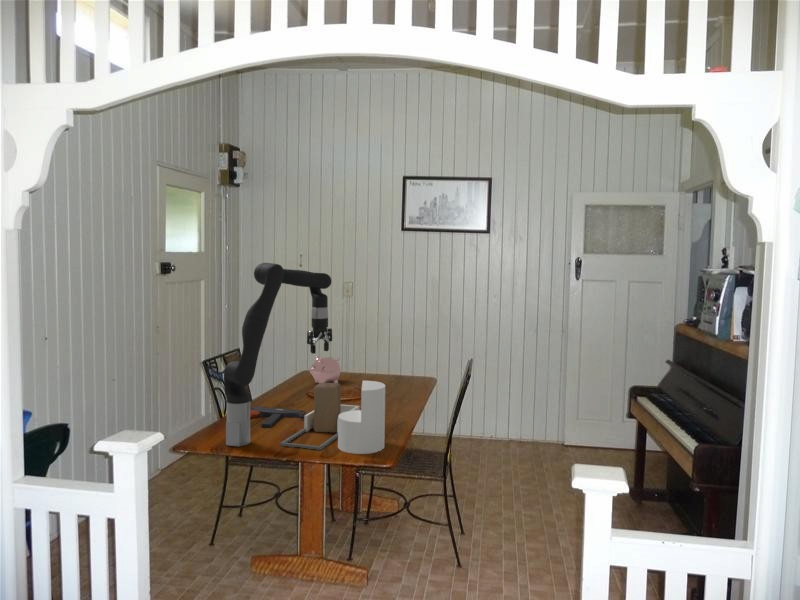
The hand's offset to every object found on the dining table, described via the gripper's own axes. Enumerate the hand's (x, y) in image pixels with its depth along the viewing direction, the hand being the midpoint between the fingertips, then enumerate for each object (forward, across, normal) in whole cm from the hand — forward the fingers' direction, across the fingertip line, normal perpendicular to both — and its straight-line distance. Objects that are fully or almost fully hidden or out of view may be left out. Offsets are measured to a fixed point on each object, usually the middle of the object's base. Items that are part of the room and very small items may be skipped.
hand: (319, 352), depth 297 cm
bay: (+31, -24, -19) cm, 44 cm away
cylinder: (+32, -18, -40) cm, 54 cm away
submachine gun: (+32, -14, +17) cm, 39 cm away
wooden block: (+32, -9, -13) cm, 36 cm away
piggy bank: (+32, +61, +53) cm, 87 cm away
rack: (+32, -4, -11) cm, 34 cm away
